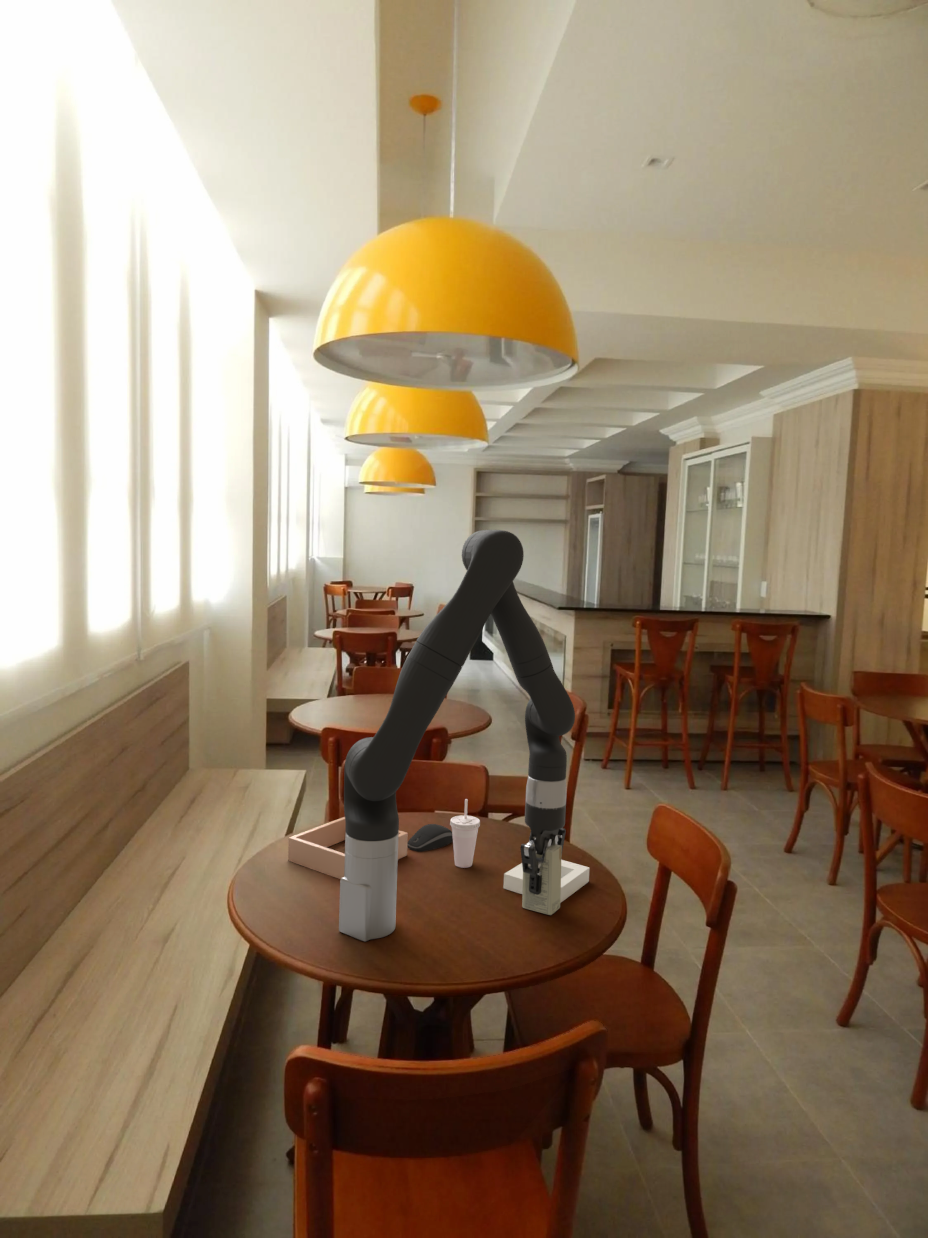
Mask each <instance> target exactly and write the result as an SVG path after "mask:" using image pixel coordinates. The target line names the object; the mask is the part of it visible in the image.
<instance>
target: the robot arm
mask: <svg viewBox="0 0 928 1238" xmlns="http://www.w3.org/2000/svg"><path fill="white" fill-rule="evenodd" d="M524 552H525V551H524V548H523V544H522V541H521V540H520V539H519V537H518V536H517V535H515V534H514V533H513V532H511V531H508V530H502V529H482V530H478V531H475V532H473V533H472V534H471V535H469V536H468V537H467V538H466V540H465V541H464V543H463V545H462V549H461V559H462V560H461V561H462V564H463V566H464V568H465V570H466V572H465V574H464V576H463V579H462V581H461V582H460V584H459V586H458V588H457V589H456V591H455V593H454V595H452V597H451V598H450V600H449V601H448V602H447V603H446V604H445V605H444V606H443V607H442V609H440V610H439V611H438V613H436V615H435V616H434V617H433V618H431V620H429V622H428V624H426V626H425V627H424V629H423V630H422V632H420V634H419V636H418V637H417V639H416V641H415V642H414V644H413V646H412V647H411V648H412V649H411V650H410V652H409V653H408V655H407V657H406V659H405V661H404V662H403V665H402V668H401V670H400V672H399V675H398V679H397V682H396V685H395V689H394V692H393V695H392V700H391V702H390V706H389V709H388V711H387V714H386V716H385V718H384V720H383V722H382V724H380V727H379V728H378V729H377V731H376V733H375V734H374V736H373V737H372V736H371V737H369V736H367V737H364V738H361V739H359V740H358V741H356V742H355V743H354V744H352V746H351V747H350V749H349V750H348V752H347V754H346V757H345V761H344V771H343V773H344V774H343V775H344V777H343V778H344V779H343V781H344V782H343V783H344V784H343V810H344V817H345V824H346V828H345V832H346V834H345V840H344V842H345V843H344V854H345V867H344V877H343V878H341V879H339V906H338V907H339V908H338V909H339V911H338V912H339V914H338V915H339V916H338V932H341V933H343V934H345V935H347V936H350V937H352V938H355V939H357V940H359V941H362V942H368V941H369V940H375V939H380V938H384V937H387V936H388V935H390V934H392V933H393V932H394V931H395V929H396V921H397V920H396V919H397V918H396V915H397V892H398V891H397V885H398V864H399V863H398V861H399V859H398V836H399V831H400V830H399V828H400V817H399V813H398V806H397V791H398V790H399V788H401V785H402V784H403V783H404V781H405V778H406V776H407V773H408V771H409V769H410V767H411V764H412V761H413V759H414V757H415V755H416V752H417V749H418V747H419V745H420V742H421V741H422V738H423V737H424V734H426V731H427V729H428V728H429V726H430V725H431V723H432V720H433V719H434V718H435V716H436V714H437V712H438V711H439V709H440V707H441V705H442V704H443V702H444V701H445V698H446V696H447V695H448V693H449V691H450V690H451V688H452V687H453V685H454V683H455V682H456V680H457V678H458V676H459V674H460V673H461V671H462V669H463V667H464V665H465V663H466V661H467V660H468V657H469V655H470V653H471V651H472V649H473V647H475V644H476V642H477V640H478V638H479V637H480V636H481V633H482V631H483V629H484V626H485V625H486V623H487V621H488V619H489V617H490V616H491V618H492V619H493V622H494V624H495V626H496V628H497V631H498V634H499V636H500V638H501V641H502V643H503V646H504V648H505V651H506V654H507V657H508V659H509V663H510V665H511V667H512V670H513V673H514V675H515V679H516V680H517V683H518V685H519V686H520V688H522V689H523V690H524V691H525V692H526V693H527V694H528V696H529V700H528V701H527V704H526V707H525V711H524V723H525V726H524V727H525V734H526V740H527V744H528V745H527V746H528V752H529V753H528V754H529V755H528V772H527V773H528V775H527V781H526V786H525V803H524V804H525V806H524V823H525V825H526V826H527V827H529V829H530V833H529V838H528V842H527V843H528V844H527V843H521V845H520V847H519V848H520V856H521V857H520V858H521V863H522V867H523V872H525V873H528V874H530V878H529V892H530V893H533V894H536V895H538V894H540V893H541V884H542V875H541V874H542V870H543V864H544V863H545V862H546V851H547V850H548V849H549V848H550V847H551V845H554V846H555V845H561V846H562V851H563V849H564V844H565V838H566V833H567V832H566V831H567V830H566V828H564V827H565V824H566V810H567V809H566V806H567V764H568V763H567V762H568V759H567V758H568V757H567V752H566V748H565V747H564V746H563V745H562V742H561V740H560V737H561V736H564V735H566V734H568V733H569V732H570V731H571V730H572V729H573V727H574V725H575V720H576V711H575V707H574V704H573V701H572V699H571V697H570V696H569V693H568V692H567V690H566V688H565V687H564V684H563V683H562V681H561V680H560V678H559V676H558V675H557V673H556V672H555V669H554V666H553V663H552V660H551V657H550V655H549V651H548V650H547V646H546V644H545V642H544V639H543V637H542V635H541V633H540V631H539V629H538V627H537V625H536V624H535V622H534V621H533V620H532V617H531V616H530V614H529V613H528V611H527V610H526V607H525V606H524V604H523V602H522V601H521V598H520V596H519V594H518V592H517V590H516V586H515V584H514V581H515V579H516V577H517V576H518V574H519V573H520V571H521V568H522V566H523V562H524V557H525V556H524ZM526 844H527V845H526ZM536 854H538V855H542V854H543V855H542V858H539V857H536ZM562 855H563V852H562V853H561V857H562ZM537 862H538V863H539V864H538V868H537ZM528 864H529V865H528Z"/></svg>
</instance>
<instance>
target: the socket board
mask: <svg viewBox="0 0 928 1238" xmlns="http://www.w3.org/2000/svg"><path fill="white" fill-rule="evenodd" d="M589 881H590V867H588V866H585V865H582V864H578V863H575V862H571V861H567V860H564V859H561V895H560V904H561V903H562V902H564V901H565V900H566V899H568V898H569V897H570V896H572V895H573V894H574V893H575V892H578V891H579V890H581V888H582V887H583V886H585V885H587V884H588V883H589ZM502 888H503V889H504V890H508V891H511V892H514V893H516V894H520V895H522V894H523V867H522V862H521V863H520V864H518V865H516V866H514V867H513V868H511V869H510V870H508V871H506V872H504V873H503V887H502Z"/></svg>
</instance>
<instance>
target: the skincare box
mask: <svg viewBox="0 0 928 1238" xmlns="http://www.w3.org/2000/svg"><path fill="white" fill-rule="evenodd" d="M525 844H526V845H527V844H528V842H527V843H525ZM561 853H562V854H563V850H562V846H561V845H555V846H554V845H551V847H550V848H549V849H548V850H547V851H546V862H545V863H544V864H543V870H542V874H541V875H542V884H541V893H540V894H538V895H536V894H533V893H530V892H529V878H530V874H528V873H525V872H523V894H521V896H522V898H521V899H522V901H521V902H522V905H521V907H522V908H523V909H526V910H530V911H533V912H536V913H541V914H544V915H548V916H552V915H553V914H555V913H556V912H557V911H558V910H559V909H560V908H561V903H560V895H561V860H562V856H561ZM542 855H543V854H542ZM542 855H538V854H536V857H539V858H542ZM538 864H539V863H538V862H537V868H538ZM528 865H529V864H528Z"/></svg>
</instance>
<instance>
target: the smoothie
mask: <svg viewBox="0 0 928 1238" xmlns="http://www.w3.org/2000/svg"><path fill="white" fill-rule="evenodd" d="M468 801H469V800H468V798H465V799H464V815H463V814H462V815H456V816H453V817H451V818H450V822H449V826H451V831H452V836H453V841H452V846H453V857H454V858H453V859H454V865H455V866H456V867H457V868H462V869H463V868H464V869H465V868H471V867H472V866H473V863H474V862H473V861H474V855H475V851H476V850H475V849H476V843H477V837H478V831H479V827H480V826H481V820H480V819H479V818H478V817H475V816H472V815H468V803H469V802H468Z"/></svg>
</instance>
